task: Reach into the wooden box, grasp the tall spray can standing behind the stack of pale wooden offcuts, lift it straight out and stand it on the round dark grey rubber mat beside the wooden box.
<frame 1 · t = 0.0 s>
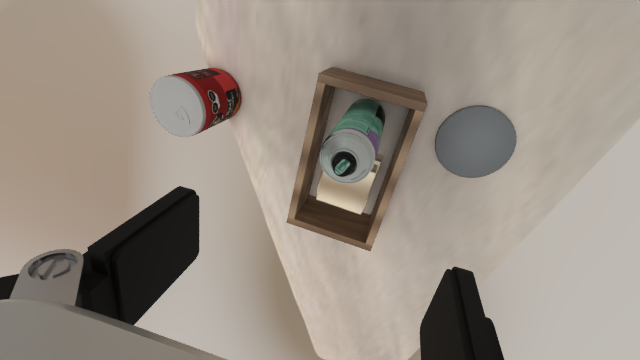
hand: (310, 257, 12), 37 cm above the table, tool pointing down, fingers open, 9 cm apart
canned food: (220, 93, 51), on the table
offcut upper: (347, 178, 48), point 3 cm above the table, touching offcut lower
wooden box: (355, 151, 49), on the table
spray can: (366, 117, 47), on the table
mat: (473, 141, 44), on the table
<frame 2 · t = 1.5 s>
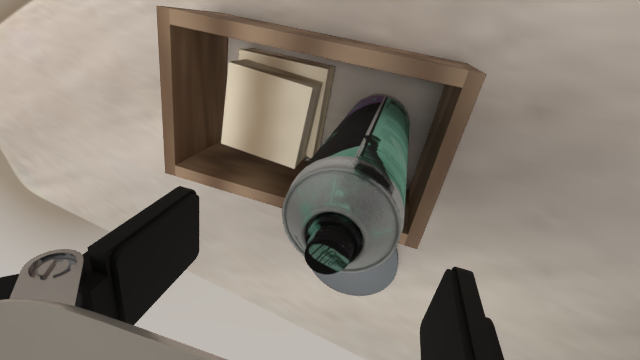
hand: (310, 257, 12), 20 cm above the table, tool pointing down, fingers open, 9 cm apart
offcut upper: (277, 109, 29), point 3 cm above the table
wooden box: (321, 110, 30), on the table
spray can: (378, 123, 29), on the table
mat: (352, 254, 36), on the table
offcut lower: (289, 99, 31), on the table
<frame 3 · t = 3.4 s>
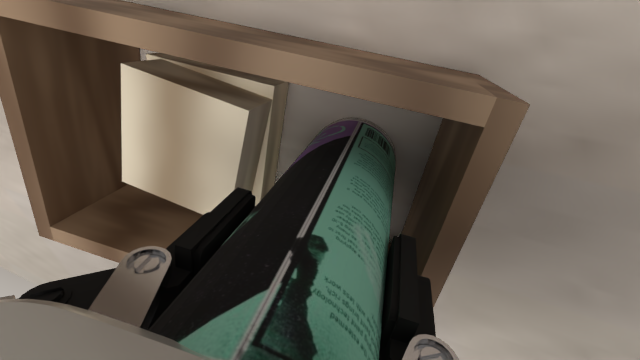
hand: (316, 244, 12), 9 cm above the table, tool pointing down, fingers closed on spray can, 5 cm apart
offcut upper: (208, 134, 20), point 2 cm above the table, touching offcut lower
wooden box: (273, 138, 22), on the table
spray can: (353, 158, 21), on the table, touching gripper
offcut lower: (230, 123, 22), on the table, touching offcut upper
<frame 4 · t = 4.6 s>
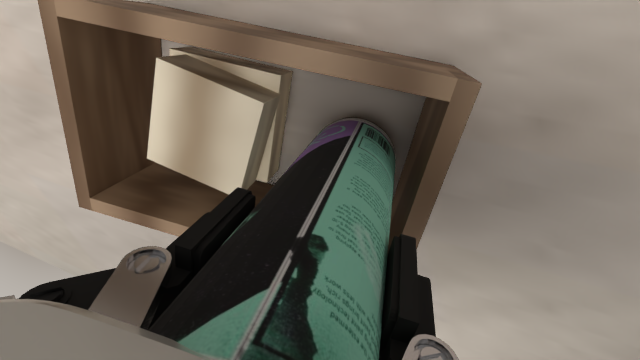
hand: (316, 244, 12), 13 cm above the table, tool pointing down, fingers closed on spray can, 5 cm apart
offcut upper: (223, 121, 23), point 2 cm above the table, touching offcut lower
wooden box: (279, 123, 25), on the table
spray can: (353, 157, 21), point 3 cm above the table, touching gripper
offcut lower: (239, 110, 26), on the table, touching offcut upper
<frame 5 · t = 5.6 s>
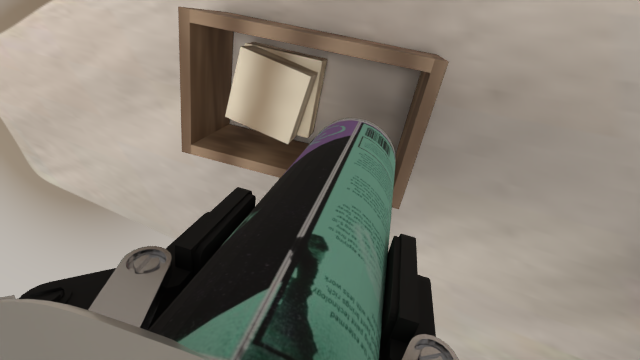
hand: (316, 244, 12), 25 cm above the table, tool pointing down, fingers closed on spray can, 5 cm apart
offcut upper: (276, 92, 33), point 2 cm above the table, touching offcut lower
wooden box: (316, 97, 35), on the table
spray can: (353, 157, 21), point 15 cm above the table, touching gripper
offcut lower: (286, 88, 36), on the table, touching offcut upper
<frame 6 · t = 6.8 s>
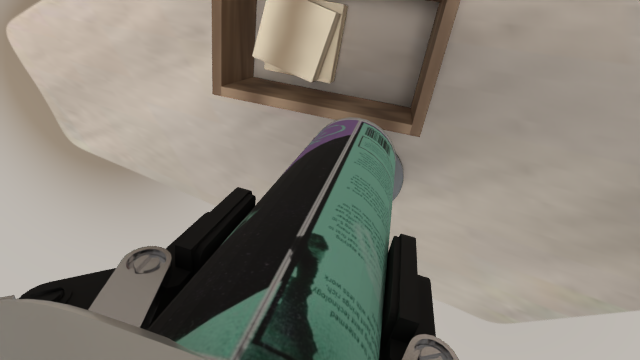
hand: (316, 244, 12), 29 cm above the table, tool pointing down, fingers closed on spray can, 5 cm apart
offcut upper: (300, 35, 35), point 2 cm above the table, touching offcut lower
wooden box: (336, 43, 37), on the table
spray can: (353, 157, 21), point 20 cm above the table, touching gripper
offcut lower: (308, 38, 38), on the table, touching offcut upper
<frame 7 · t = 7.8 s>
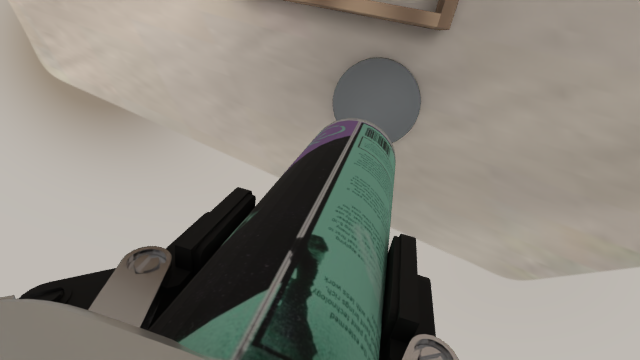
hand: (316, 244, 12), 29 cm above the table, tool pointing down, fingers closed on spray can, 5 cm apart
spray can: (353, 158, 21), point 19 cm above the table, touching gripper
mat: (375, 102, 38), on the table
when the fingers open (11 cm above the table, at t = 11.7 s): spray can stays where it is, resting on mat.
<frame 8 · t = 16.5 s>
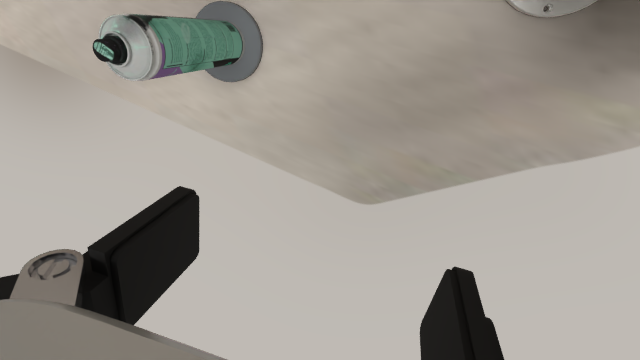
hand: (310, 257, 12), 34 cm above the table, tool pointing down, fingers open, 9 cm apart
spray can: (227, 43, 43), point 1 cm above the table, touching mat
mat: (228, 43, 44), on the table
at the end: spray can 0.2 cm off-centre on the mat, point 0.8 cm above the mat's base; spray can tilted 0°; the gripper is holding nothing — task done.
